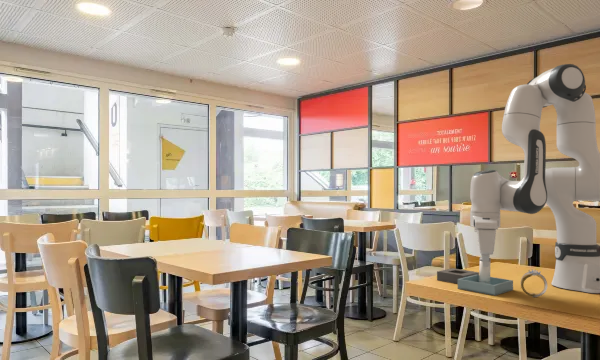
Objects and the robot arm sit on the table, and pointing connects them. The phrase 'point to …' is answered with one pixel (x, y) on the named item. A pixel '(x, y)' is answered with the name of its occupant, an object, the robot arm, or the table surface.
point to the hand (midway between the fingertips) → (485, 265)
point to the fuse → (484, 272)
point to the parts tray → (485, 285)
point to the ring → (528, 274)
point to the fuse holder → (454, 275)
